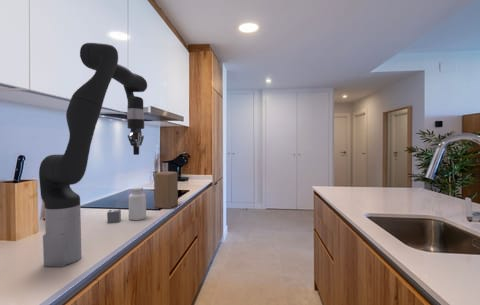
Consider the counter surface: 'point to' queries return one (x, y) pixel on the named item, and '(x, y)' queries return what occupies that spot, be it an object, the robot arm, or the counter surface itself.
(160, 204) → the wooden block
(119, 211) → the number cube
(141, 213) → the pill bottle
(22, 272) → the counter surface
